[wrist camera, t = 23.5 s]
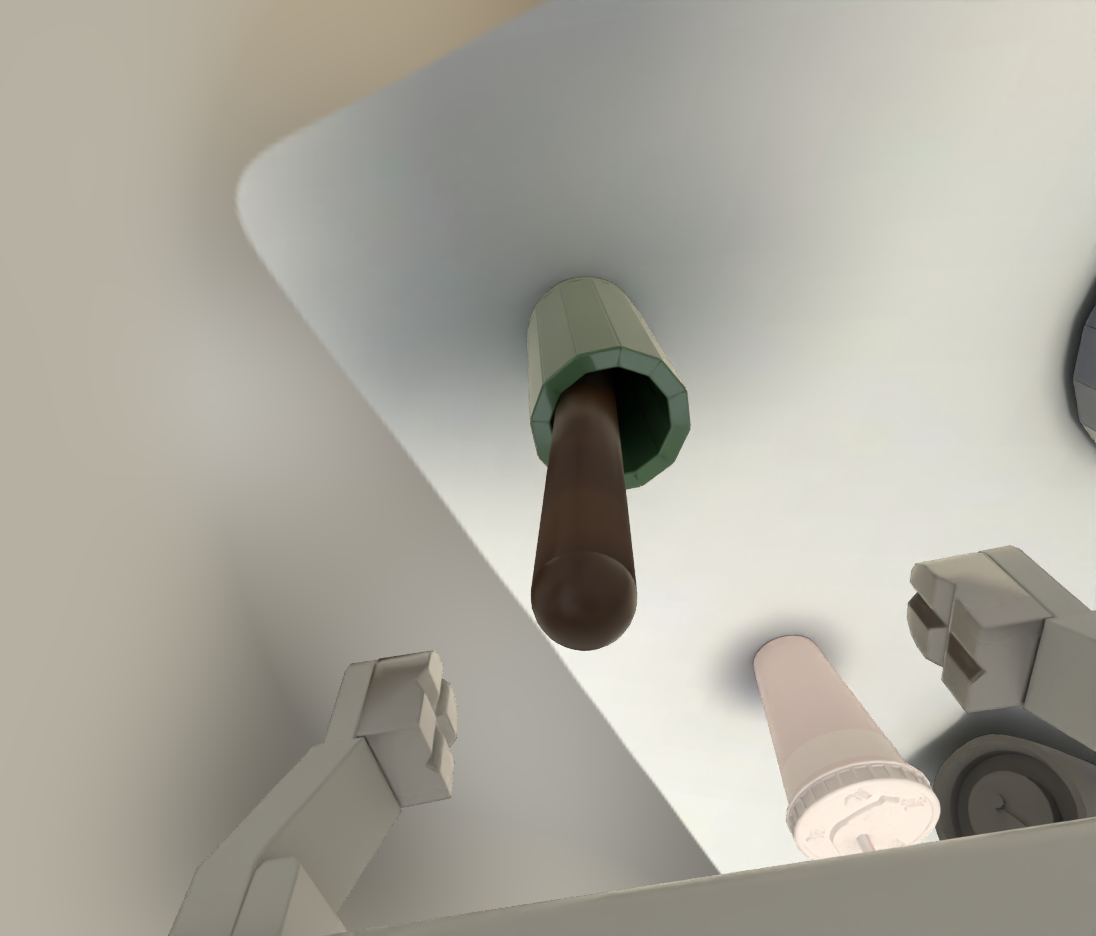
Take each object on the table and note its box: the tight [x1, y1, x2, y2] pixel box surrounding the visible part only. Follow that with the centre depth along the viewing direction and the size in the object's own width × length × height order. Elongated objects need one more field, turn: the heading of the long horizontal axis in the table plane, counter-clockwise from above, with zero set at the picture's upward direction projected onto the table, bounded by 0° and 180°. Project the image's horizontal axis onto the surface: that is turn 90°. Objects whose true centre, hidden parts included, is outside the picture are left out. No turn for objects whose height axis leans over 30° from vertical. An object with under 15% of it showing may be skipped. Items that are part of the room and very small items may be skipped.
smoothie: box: [753, 636, 940, 860], centre depth 30 cm, size 6×6×14 cm
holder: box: [527, 277, 691, 489], centre depth 23 cm, size 5×5×9 cm
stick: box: [531, 368, 637, 651], centre depth 18 cm, size 2×2×18 cm
